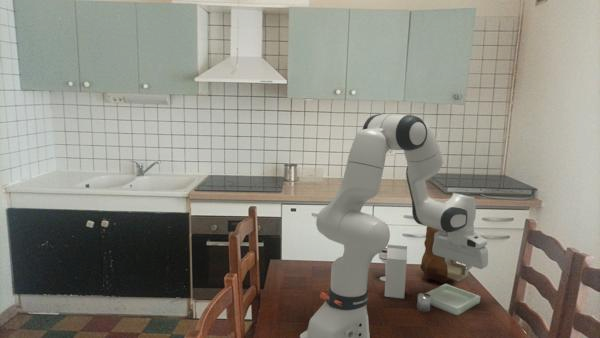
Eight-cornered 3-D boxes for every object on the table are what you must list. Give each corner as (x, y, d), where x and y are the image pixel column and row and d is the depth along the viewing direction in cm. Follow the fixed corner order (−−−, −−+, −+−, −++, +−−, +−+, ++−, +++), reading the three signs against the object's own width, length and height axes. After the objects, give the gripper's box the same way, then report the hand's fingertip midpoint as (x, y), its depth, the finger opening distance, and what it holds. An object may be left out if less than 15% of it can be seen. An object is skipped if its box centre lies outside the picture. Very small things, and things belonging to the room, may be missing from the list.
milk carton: (404, 299, 160) (407, 249, 157) (384, 296, 162) (387, 247, 159) (403, 291, 167) (406, 243, 164) (384, 289, 169) (387, 241, 166)
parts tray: (457, 315, 149) (457, 308, 148) (421, 301, 159) (422, 294, 159) (479, 302, 159) (480, 296, 159) (445, 289, 169) (445, 283, 169)
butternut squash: (451, 275, 184) (455, 217, 181) (459, 288, 171) (464, 226, 168) (417, 272, 186) (421, 215, 182) (423, 285, 173) (427, 224, 169)
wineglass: (393, 276, 181) (395, 248, 180) (394, 282, 175) (396, 254, 173) (377, 274, 182) (378, 247, 180) (377, 281, 176) (379, 252, 174)
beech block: (458, 280, 156) (459, 269, 156) (447, 277, 160) (448, 265, 159) (465, 277, 159) (466, 266, 158) (453, 274, 162) (454, 262, 162)
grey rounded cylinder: (425, 313, 150) (426, 299, 149) (414, 308, 153) (415, 295, 152) (432, 309, 153) (433, 296, 152) (421, 305, 156) (422, 291, 155)
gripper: (430, 231, 163) (427, 266, 165) (483, 245, 148) (479, 284, 150) (439, 228, 167) (436, 262, 169) (491, 241, 152) (488, 279, 154)
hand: (457, 272), depth 160 cm, fingers closed on beech block, 4 cm apart
